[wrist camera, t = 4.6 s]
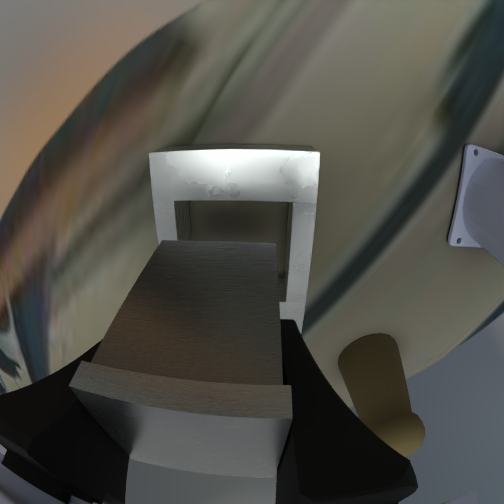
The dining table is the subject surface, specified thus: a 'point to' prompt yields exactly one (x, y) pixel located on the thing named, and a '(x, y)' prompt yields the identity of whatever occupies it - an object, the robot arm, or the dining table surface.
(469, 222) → the robot arm
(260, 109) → the dining table surface
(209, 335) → the grey rectangular block
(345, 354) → the cork
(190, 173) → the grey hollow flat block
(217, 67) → the dining table surface
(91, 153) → the dining table surface
